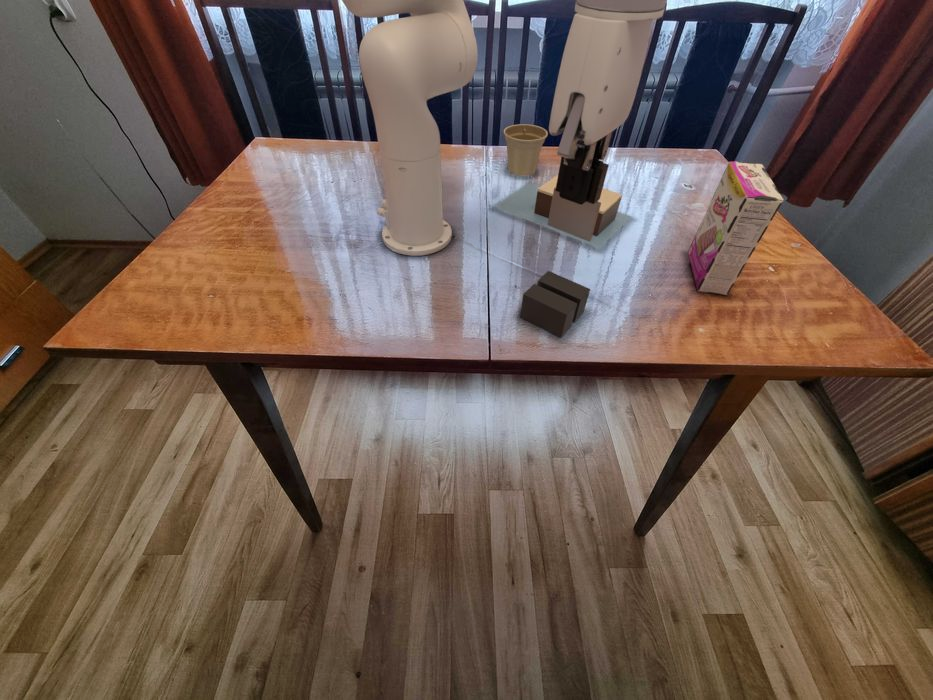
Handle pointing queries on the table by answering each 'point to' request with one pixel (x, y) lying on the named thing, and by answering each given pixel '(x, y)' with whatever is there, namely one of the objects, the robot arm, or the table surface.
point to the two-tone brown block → (545, 197)
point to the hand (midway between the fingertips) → (576, 195)
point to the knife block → (554, 303)
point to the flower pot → (524, 147)
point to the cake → (607, 210)
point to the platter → (525, 207)
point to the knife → (578, 205)
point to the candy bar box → (732, 226)
